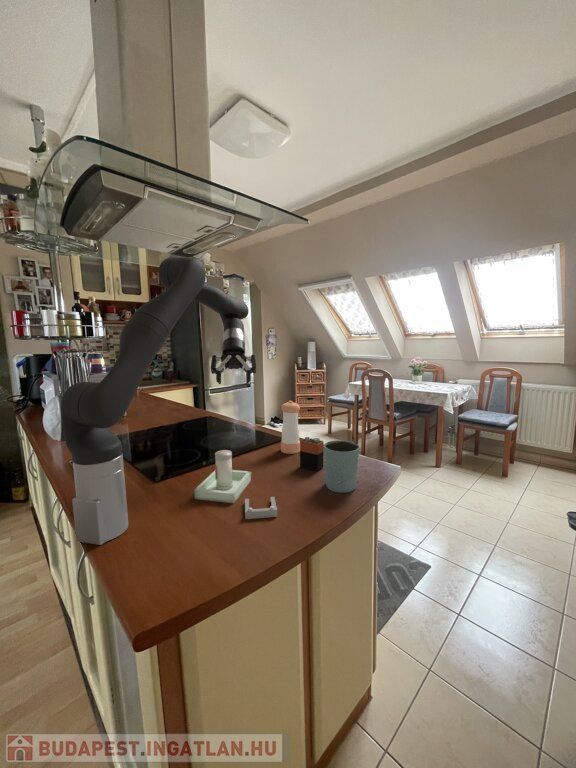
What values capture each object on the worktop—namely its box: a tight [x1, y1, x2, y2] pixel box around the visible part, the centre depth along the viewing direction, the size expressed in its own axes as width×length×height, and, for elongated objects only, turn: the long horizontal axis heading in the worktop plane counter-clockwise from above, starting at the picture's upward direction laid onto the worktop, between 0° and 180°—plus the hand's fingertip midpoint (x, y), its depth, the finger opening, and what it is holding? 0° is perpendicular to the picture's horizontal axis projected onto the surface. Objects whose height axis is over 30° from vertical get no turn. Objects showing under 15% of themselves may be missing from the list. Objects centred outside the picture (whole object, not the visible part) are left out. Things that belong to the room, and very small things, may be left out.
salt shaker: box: [280, 400, 301, 455], centre depth 119 cm, size 7×7×19 cm
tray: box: [193, 469, 252, 504], centre depth 90 cm, size 14×11×3 cm
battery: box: [299, 436, 325, 472], centre depth 104 cm, size 4×7×10 cm, turn 57°
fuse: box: [214, 449, 233, 491], centre depth 89 cm, size 5×5×10 cm
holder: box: [244, 496, 278, 520], centre depth 79 cm, size 7×8×2 cm
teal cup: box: [323, 440, 361, 494], centre depth 91 cm, size 10×10×12 cm
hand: (233, 382), depth 98 cm, fingers open, 8 cm apart
